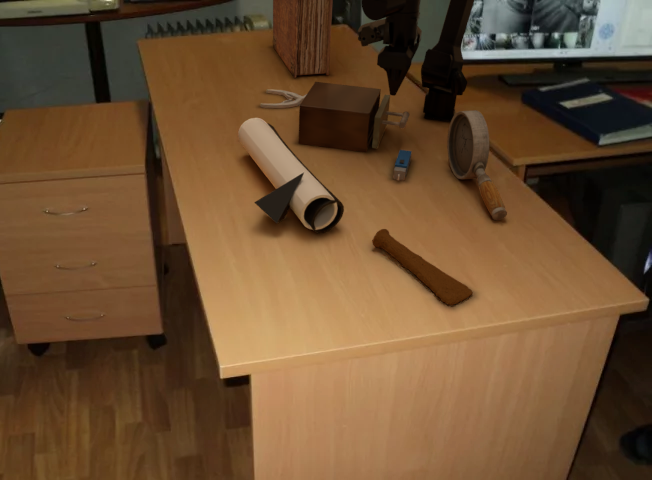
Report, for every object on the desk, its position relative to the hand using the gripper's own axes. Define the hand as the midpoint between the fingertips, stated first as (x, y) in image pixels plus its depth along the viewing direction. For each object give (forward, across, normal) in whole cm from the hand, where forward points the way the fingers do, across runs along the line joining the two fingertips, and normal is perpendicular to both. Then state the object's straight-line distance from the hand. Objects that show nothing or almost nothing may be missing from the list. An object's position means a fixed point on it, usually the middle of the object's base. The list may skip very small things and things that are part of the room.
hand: (396, 87), depth 150 cm
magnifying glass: (+12, +17, +19) cm, 28 cm away
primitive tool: (+12, +47, +12) cm, 50 cm away
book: (+12, -43, -31) cm, 55 cm away
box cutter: (+12, +13, +4) cm, 18 cm away
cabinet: (+12, 0, -11) cm, 16 cm away
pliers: (+12, -15, -25) cm, 32 cm away
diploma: (+12, +30, -18) cm, 37 cm away
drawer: (+11, 0, -6) cm, 13 cm away
